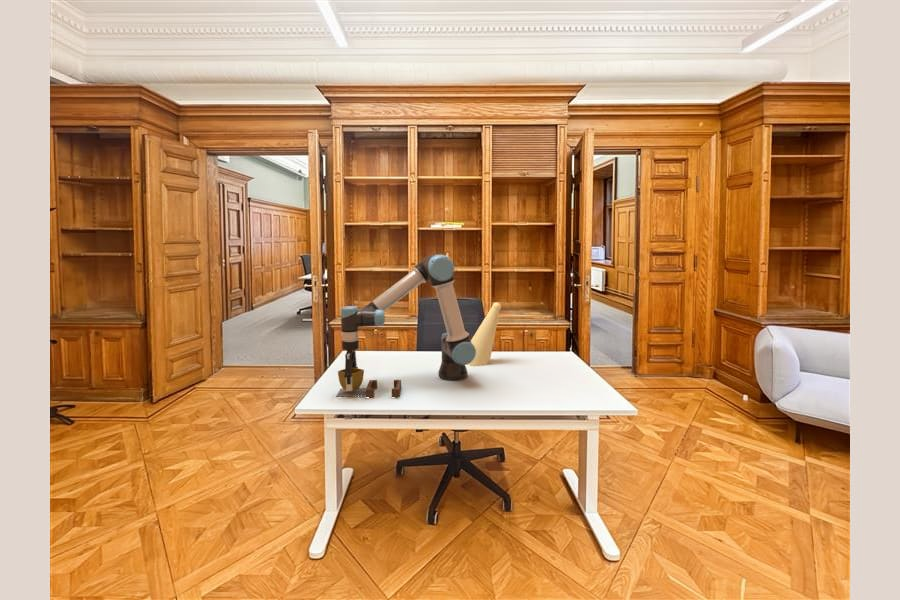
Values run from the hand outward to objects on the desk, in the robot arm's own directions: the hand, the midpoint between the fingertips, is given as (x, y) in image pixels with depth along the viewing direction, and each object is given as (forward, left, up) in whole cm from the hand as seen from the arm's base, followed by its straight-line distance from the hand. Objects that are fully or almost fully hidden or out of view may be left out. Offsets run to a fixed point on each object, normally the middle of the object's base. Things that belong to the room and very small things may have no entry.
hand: (351, 386), depth 230 cm
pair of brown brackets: (-15, 0, -3) cm, 15 cm away
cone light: (-64, -55, -3) cm, 85 cm away
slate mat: (0, 0, -3) cm, 3 cm away
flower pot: (0, 0, -1) cm, 1 cm away
